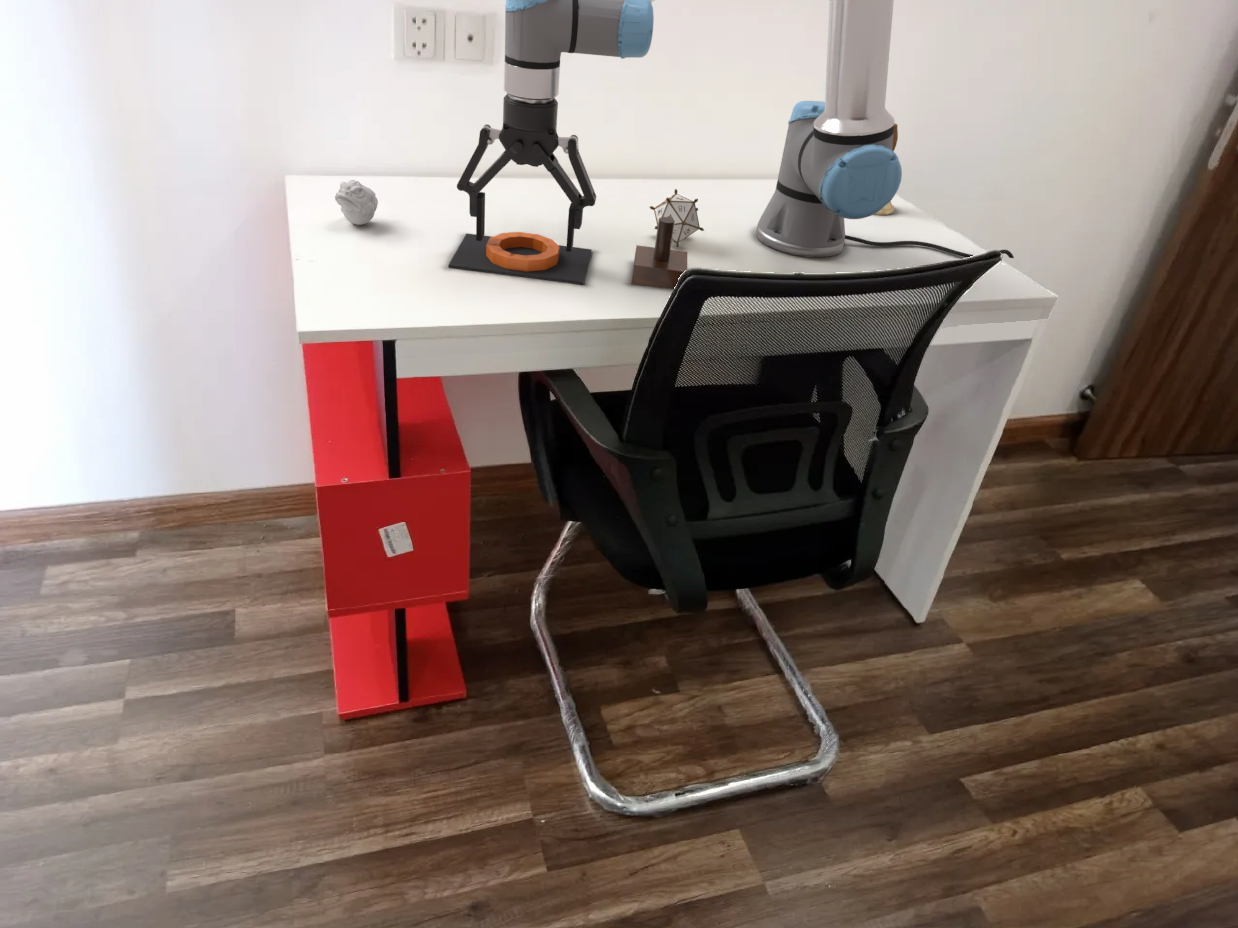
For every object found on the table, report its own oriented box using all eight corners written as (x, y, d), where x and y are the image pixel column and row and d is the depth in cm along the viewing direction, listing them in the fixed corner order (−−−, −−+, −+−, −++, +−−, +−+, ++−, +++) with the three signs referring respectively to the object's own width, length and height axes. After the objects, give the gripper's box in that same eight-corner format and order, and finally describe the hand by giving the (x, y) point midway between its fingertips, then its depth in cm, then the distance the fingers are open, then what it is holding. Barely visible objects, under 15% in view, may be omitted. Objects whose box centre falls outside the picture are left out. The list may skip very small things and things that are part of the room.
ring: (562, 248, 143) (562, 237, 142) (553, 275, 134) (554, 263, 133) (494, 239, 143) (494, 228, 142) (480, 266, 134) (481, 254, 133)
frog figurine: (327, 225, 141) (324, 181, 137) (357, 213, 147) (354, 170, 143) (359, 235, 139) (356, 190, 136) (387, 223, 145) (386, 179, 141)
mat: (591, 251, 144) (591, 249, 144) (583, 284, 133) (583, 282, 133) (466, 235, 144) (466, 233, 144) (448, 267, 133) (448, 264, 133)
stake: (684, 269, 142) (693, 214, 137) (684, 290, 136) (693, 233, 131) (634, 263, 142) (641, 207, 137) (631, 283, 136) (638, 226, 130)
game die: (665, 266, 152) (645, 226, 144) (657, 231, 157) (636, 190, 149) (716, 246, 150) (698, 204, 142) (706, 211, 155) (688, 169, 147)
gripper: (622, 100, 128) (608, 243, 140) (447, 79, 128) (448, 224, 140) (618, 113, 122) (604, 262, 134) (435, 91, 122) (437, 242, 134)
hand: (524, 243), depth 137 cm, fingers open, 13 cm apart
